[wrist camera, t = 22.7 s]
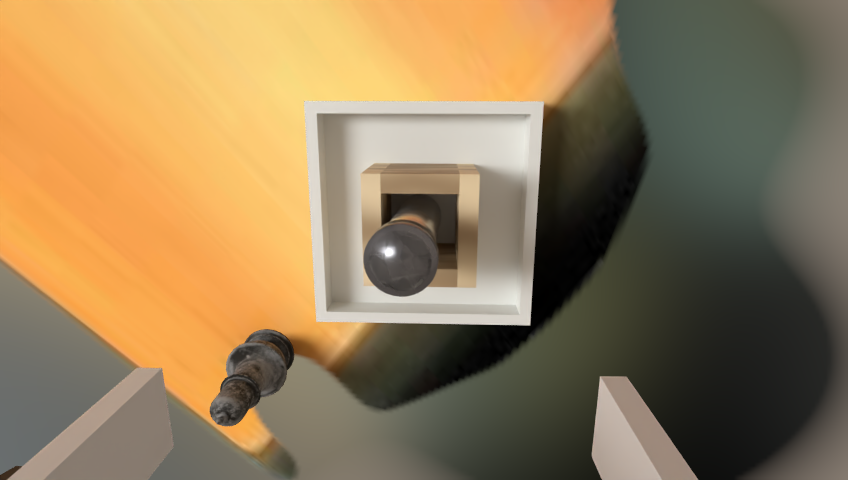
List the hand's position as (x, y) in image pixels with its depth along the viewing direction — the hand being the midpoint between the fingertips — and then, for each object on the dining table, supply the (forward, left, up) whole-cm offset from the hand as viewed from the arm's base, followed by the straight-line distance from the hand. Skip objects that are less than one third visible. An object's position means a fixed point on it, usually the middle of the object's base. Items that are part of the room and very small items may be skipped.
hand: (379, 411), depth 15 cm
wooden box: (0, 0, -32) cm, 32 cm away
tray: (0, 0, -33) cm, 33 cm away
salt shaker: (+15, -16, -33) cm, 40 cm away
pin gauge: (+1, 0, -32) cm, 32 cm away
